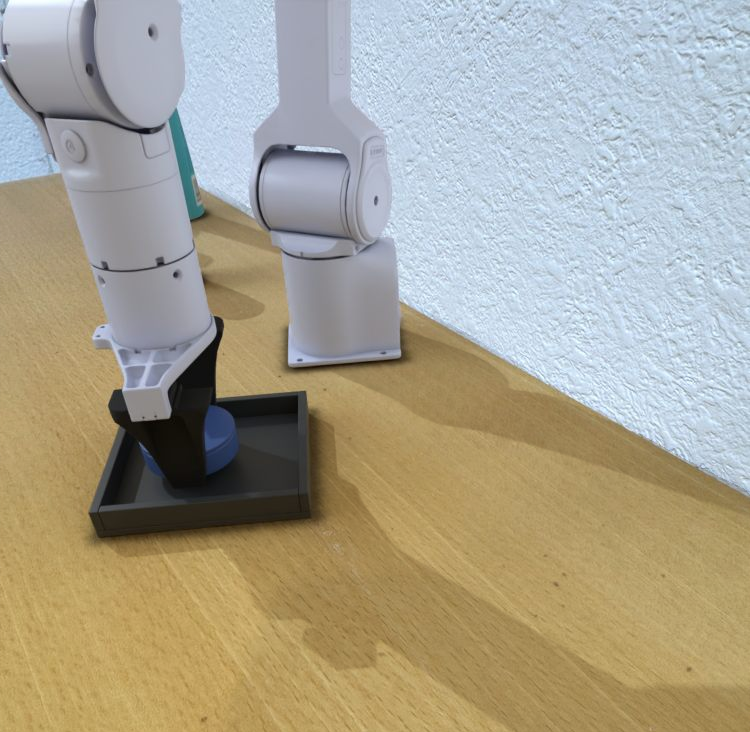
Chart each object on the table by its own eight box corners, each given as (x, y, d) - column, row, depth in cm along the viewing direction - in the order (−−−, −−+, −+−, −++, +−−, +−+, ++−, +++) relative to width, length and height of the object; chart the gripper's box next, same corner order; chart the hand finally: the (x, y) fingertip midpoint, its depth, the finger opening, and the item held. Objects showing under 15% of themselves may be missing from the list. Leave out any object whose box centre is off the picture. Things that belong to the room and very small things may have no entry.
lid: (136, 484, 44) (128, 461, 43) (153, 429, 49) (146, 407, 48) (235, 476, 44) (229, 453, 43) (242, 422, 49) (238, 400, 48)
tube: (159, 212, 93) (119, 41, 81) (194, 205, 95) (159, 37, 82) (178, 227, 88) (137, 47, 76) (213, 219, 90) (180, 42, 77)
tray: (309, 412, 53) (306, 390, 51) (311, 517, 43) (308, 492, 42) (133, 428, 52) (126, 405, 51) (97, 537, 43) (87, 513, 41)
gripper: (98, 215, 44) (152, 401, 52) (29, 314, 32) (113, 530, 41) (211, 206, 44) (246, 393, 52) (181, 302, 33) (233, 519, 41)
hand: (195, 453), depth 47 cm, fingers closed on lid, 6 cm apart
